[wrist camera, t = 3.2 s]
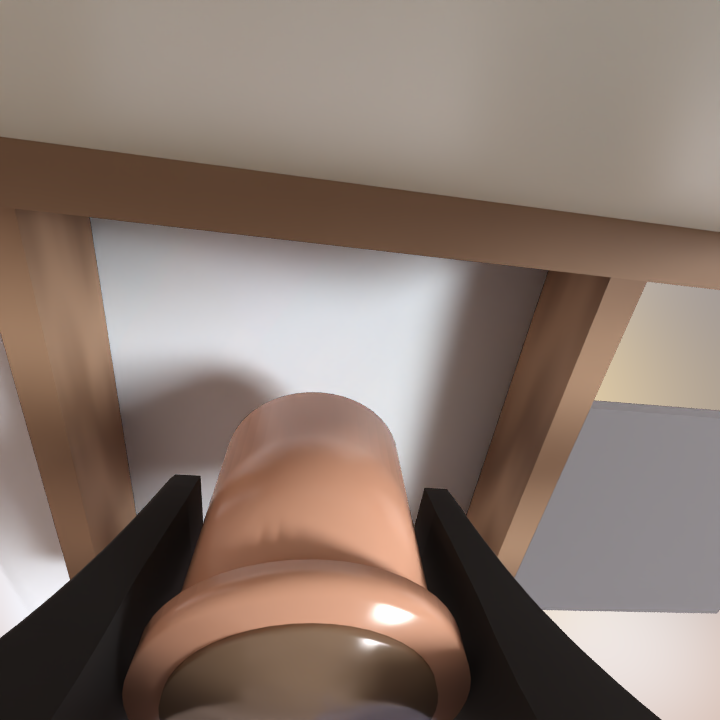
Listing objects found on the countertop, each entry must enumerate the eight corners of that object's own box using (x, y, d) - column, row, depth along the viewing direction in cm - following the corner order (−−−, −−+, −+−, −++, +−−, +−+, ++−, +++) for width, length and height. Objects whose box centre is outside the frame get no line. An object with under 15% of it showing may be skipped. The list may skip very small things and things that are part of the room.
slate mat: (707, 602, 23) (716, 613, 22) (496, 597, 22) (500, 609, 21) (852, 421, 17) (868, 430, 17) (582, 399, 16) (590, 408, 16)
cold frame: (473, 556, 20) (524, 707, 15) (116, 544, 18) (27, 711, 13) (604, 199, 13) (801, 241, 7) (34, 120, 11) (-247, 101, 6)
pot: (393, 534, 14) (434, 781, 9) (215, 529, 13) (139, 792, 8) (428, 387, 12) (516, 609, 6) (209, 371, 11) (88, 605, 5)
